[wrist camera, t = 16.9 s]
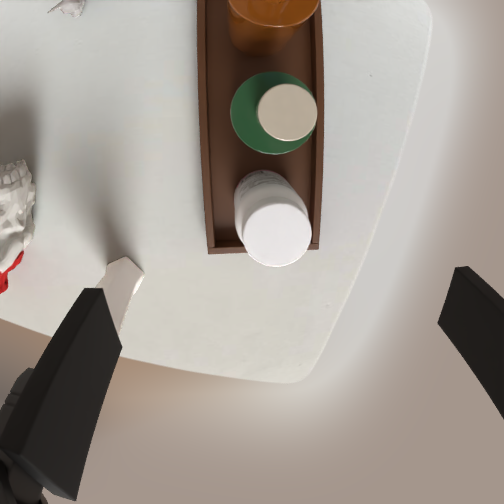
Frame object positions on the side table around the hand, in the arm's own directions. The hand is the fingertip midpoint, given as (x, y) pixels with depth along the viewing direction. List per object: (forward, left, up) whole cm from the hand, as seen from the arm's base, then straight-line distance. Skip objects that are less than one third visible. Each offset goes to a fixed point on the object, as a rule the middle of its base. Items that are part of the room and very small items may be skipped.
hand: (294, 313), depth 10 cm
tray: (-6, 0, -17) cm, 18 cm away
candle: (+1, -26, -17) cm, 31 cm away
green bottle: (-6, 0, -17) cm, 18 cm away
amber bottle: (-13, 0, -17) cm, 21 cm away
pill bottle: (0, 0, -16) cm, 16 cm away
